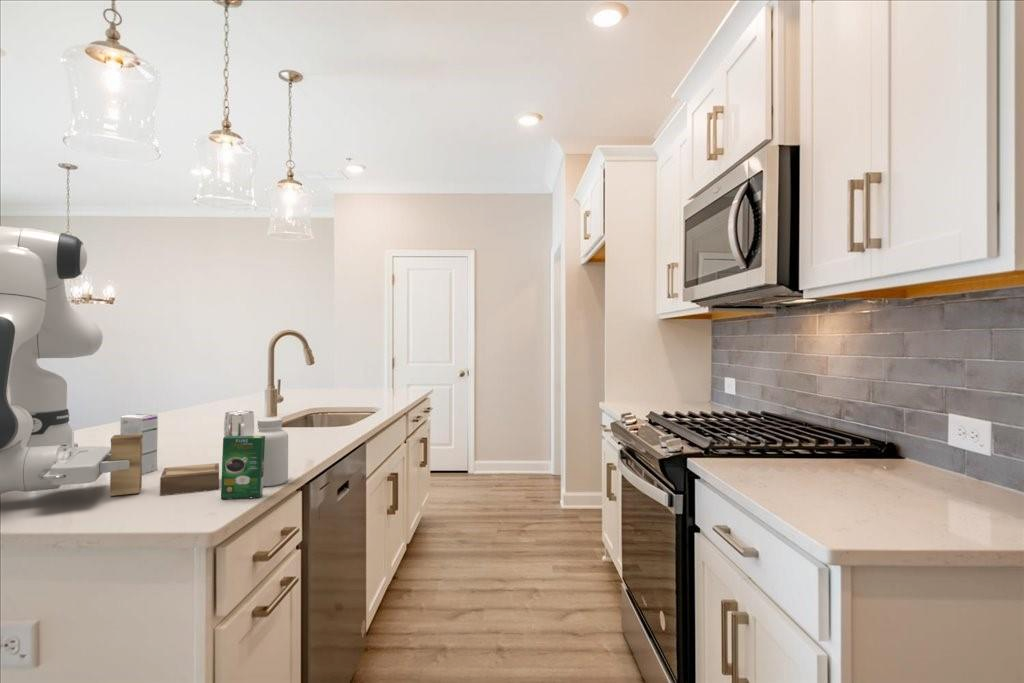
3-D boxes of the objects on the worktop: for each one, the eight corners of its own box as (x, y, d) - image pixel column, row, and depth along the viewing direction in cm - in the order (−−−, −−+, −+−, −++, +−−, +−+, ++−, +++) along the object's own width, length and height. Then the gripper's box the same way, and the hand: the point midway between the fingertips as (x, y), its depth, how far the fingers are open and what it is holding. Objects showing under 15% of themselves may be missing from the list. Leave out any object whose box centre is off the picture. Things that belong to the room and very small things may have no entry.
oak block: (113, 490, 115) (114, 435, 115) (141, 487, 117) (142, 433, 117) (109, 495, 111) (110, 438, 111) (139, 492, 113) (140, 436, 113)
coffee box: (265, 494, 115) (265, 434, 115) (261, 498, 112) (262, 436, 112) (224, 496, 113) (225, 435, 113) (220, 500, 110) (221, 437, 110)
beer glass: (259, 469, 136) (260, 412, 136) (232, 475, 131) (233, 414, 131) (243, 466, 140) (244, 409, 140) (217, 471, 134) (218, 412, 134)
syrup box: (158, 469, 135) (159, 413, 135) (139, 475, 129) (140, 416, 129) (137, 469, 136) (138, 412, 136) (118, 474, 130) (119, 415, 130)
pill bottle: (252, 480, 127) (253, 417, 127) (288, 477, 129) (289, 416, 129) (248, 488, 119) (249, 422, 119) (287, 485, 122) (288, 421, 122)
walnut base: (164, 484, 122) (164, 467, 122) (218, 478, 127) (218, 462, 127) (160, 495, 113) (160, 476, 113) (218, 489, 118) (219, 471, 118)
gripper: (34, 462, 99) (124, 456, 106) (62, 443, 117) (138, 438, 123) (33, 496, 99) (124, 487, 106) (61, 471, 117) (137, 465, 123)
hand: (131, 461), depth 115 cm, fingers closed on oak block, 4 cm apart
